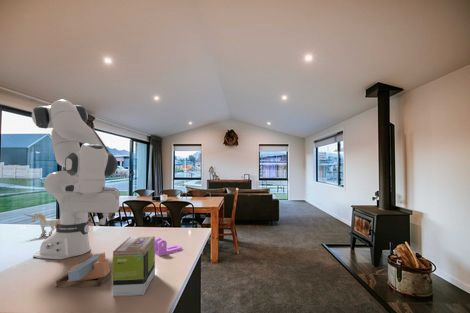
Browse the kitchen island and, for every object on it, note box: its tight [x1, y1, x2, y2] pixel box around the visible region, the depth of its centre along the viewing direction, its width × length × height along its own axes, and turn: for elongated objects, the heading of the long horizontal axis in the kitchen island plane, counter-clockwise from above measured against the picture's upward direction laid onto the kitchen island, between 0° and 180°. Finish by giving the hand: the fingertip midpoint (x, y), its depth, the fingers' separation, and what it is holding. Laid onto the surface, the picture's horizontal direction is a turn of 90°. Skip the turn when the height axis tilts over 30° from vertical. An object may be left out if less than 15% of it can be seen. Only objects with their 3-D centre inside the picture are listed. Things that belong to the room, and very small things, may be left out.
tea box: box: [112, 235, 156, 297], centre depth 84 cm, size 15×10×15 cm, turn 5°
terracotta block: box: [67, 252, 111, 281], centre depth 87 cm, size 12×4×8 cm, turn 92°
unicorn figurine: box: [25, 212, 61, 237], centre depth 142 cm, size 7×20×13 cm, turn 100°
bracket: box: [155, 237, 182, 257], centre depth 117 cm, size 13×6×7 cm, turn 133°
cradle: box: [55, 270, 112, 288], centre depth 86 cm, size 15×8×2 cm, turn 93°
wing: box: [67, 251, 106, 282], centre depth 86 cm, size 16×4×3 cm, turn 0°
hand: (89, 224), depth 89 cm, fingers open, 8 cm apart
